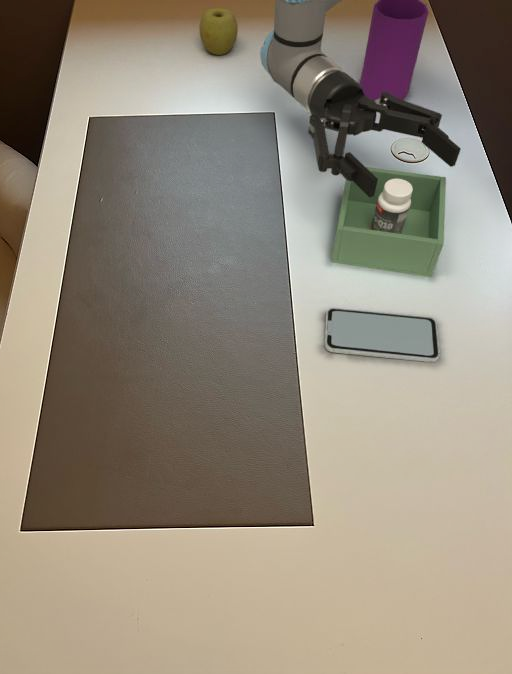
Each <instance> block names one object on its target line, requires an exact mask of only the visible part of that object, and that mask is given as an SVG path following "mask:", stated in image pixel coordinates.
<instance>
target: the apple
mask: <svg viewBox="0 0 512 674" xmlns="http://www.w3.org/2000/svg"><path fill="white" fill-rule="evenodd" d="M238 26H239V25H238V20H237V18H236V17H235V15H234V13H233V12H231V11H230V9H226V8H221V7H220V8H219V7H217V8H211V9H210V8H209V9H208V10H206V11H205V12H204V13H203V15H202V17H201V18H200V21H199V26H198V27H199V28H198V29H199V36H200V39H201V42H202V45H203V46H204V48H205V49H206V51H208V52H209V53H210V54H213V55H216V56H223V55H225V54H227V53H228V52H230V50H231V49H233V46H234V45H235V43H236V41H237V37H238V31H239V27H238Z"/></svg>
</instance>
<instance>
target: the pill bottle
mask: <svg viewBox="0 0 512 674" xmlns="http://www.w3.org/2000/svg"><path fill="white" fill-rule="evenodd" d="M412 191H413V188H412V185H411V184H410V183H409V182H407V181H406V180H403V179H391V180H389V181H387V182H386V183H385V185H384V189H383V192H382V193H381V194H380V195H379V198H378V201H377V205H376V209H375V213H374V217H373V220H372V224H371V230H376V231H383V232H390V233H397V234H402V231H403V227H404V224H405V221H406V218H407V215H408V211H409V208H410V205H411V199H410V198H411V194H412Z"/></svg>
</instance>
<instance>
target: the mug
mask: <svg viewBox="0 0 512 674" xmlns="http://www.w3.org/2000/svg"><path fill="white" fill-rule="evenodd" d="M428 16H429V10H428V6H427V4H426V3H424V2H423V1H421V0H377V2H375V3H374V4H373V8H372V14H371V20H370V25H369V30H368V36H367V41H366V48H365V54H364V58H363V64H362V69H361V76H360V82H359V85H360V86H361V88H362V90H363V93H364V95H365V96H366V97H367V98H369V99H372V100H374V101H375V100H377V99H379V98H380V97H381V93H382V92H388V93H390V94H391V95H393V96H394V97H396V98H398V99H401V100H404V99H405V97H406V96H407V95H408V94H409V91H410V88H411V84H412V80H413V76H414V72H415V68H416V64H417V60H418V55H419V51H420V48H421V44H422V40H423V36H424V31H425V27H426V23H427V21H428Z"/></svg>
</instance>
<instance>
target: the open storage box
mask: <svg viewBox="0 0 512 674" xmlns="http://www.w3.org/2000/svg"><path fill="white" fill-rule="evenodd" d="M365 167H366V168H367V169H368V170H369V171H370V172H371V173H372V174H373V175H374V176H375V177H376V178H378V181H377V186H376V190H375V194H374V196H373V197H370V198H369V197H368V196H367V195H366V194H365V193H364V192H363V191H362V190H361V189H360V188H359V187H358V186H357V185H356V184H355V183H354V182H353V181H348V180H346V179H345V182H344V185H343V186H344V187H343V193H342V198H341V202H340V203H341V204H340V210H339V215H338V221H337V227H336V231H335V232H336V233H335V238H334V244H333V249H332V255H331V260H330V263H333V264H340V265H345V266H352V267H359V268H365V269H372V270H379V271H384V272H385V271H386V272H392V273H393V272H394V273H399V274H405V275H413V276H419V277H425V278H426V277H427V278H432V275H433V274H434V271H435V268H436V265H437V263H438V260H439V257H440V255H441V252H442V251H443V247H444V244H445V243H444V242H445V221H446V220H445V216H446V191H447V190H446V189H447V187H446V186H447V177H446V176H438V175H431V174H424V173H423V174H422V173H416V172H407V171H401V170H393V169H384V168H376V167H369V166H365ZM391 179H403V180H406V181H407V182H409V183H410V184H411V185H412V188H413V191H412V194H411V198H410V199H411V205H410V208H409V211H408V215H407V218H406V221H405V224H404V227H403V231H402V234H397V233H390V232H383V231H376V230H371V224H372V220H373V217H374V213H375V209H376V205H377V201H378V198H379V195H380V194H381V193H382V192H383V189H384V185H385V183H386V182H387V181H389V180H391Z"/></svg>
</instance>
